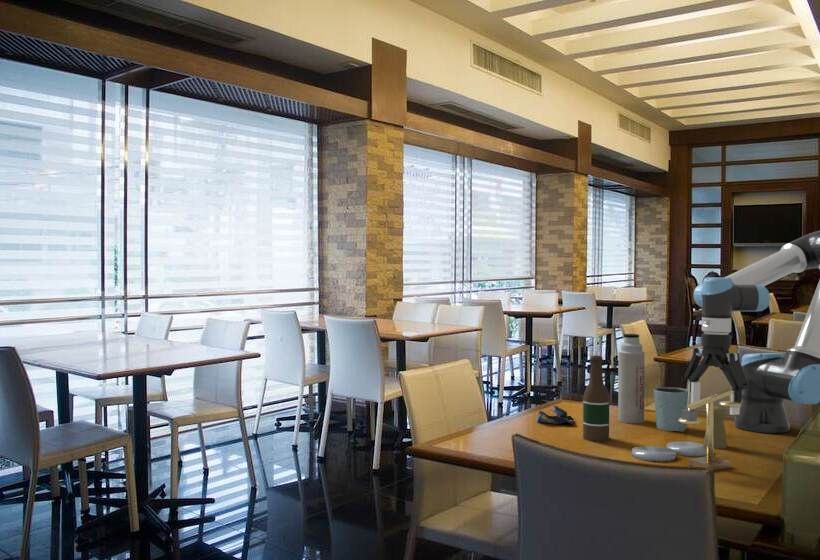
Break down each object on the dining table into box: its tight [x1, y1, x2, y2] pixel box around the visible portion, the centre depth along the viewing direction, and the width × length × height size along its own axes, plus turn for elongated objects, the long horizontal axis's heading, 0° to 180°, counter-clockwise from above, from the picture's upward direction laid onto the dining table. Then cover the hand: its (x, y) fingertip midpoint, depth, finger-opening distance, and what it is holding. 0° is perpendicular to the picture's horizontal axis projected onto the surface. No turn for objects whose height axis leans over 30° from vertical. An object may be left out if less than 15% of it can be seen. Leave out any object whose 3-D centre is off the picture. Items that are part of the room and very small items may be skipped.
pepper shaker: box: [703, 405, 728, 450], centre depth 195 cm, size 6×6×11 cm
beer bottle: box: [582, 354, 610, 443], centre depth 203 cm, size 8×8×24 cm
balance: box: [679, 388, 741, 471], centre depth 175 cm, size 19×6×19 cm, turn 114°
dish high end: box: [666, 440, 706, 458], centre depth 190 cm, size 11×11×1 cm
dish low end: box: [631, 445, 677, 463], centre depth 185 cm, size 11×11×1 cm
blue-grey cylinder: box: [653, 386, 689, 432], centre depth 216 cm, size 10×10×12 cm
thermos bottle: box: [617, 333, 645, 424], centre depth 226 cm, size 8×8×28 cm
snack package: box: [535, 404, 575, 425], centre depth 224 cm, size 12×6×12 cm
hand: (714, 409), depth 195 cm, fingers open, 13 cm apart
